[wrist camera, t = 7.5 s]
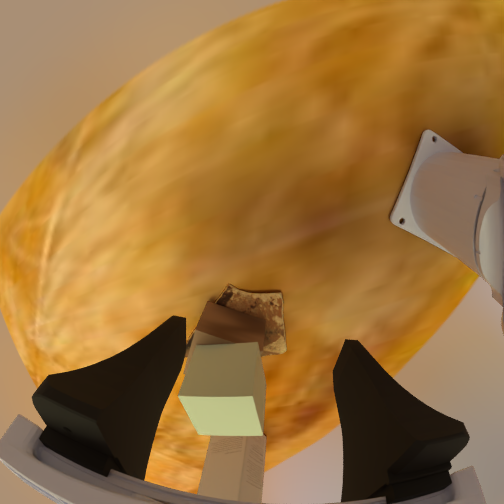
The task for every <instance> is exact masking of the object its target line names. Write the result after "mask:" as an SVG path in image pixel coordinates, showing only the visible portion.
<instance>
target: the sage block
mask: <svg viewBox="0 0 504 504" xmlns="http://www.w3.org/2000/svg"><path fill="white" fill-rule="evenodd" d="M265 396H266V381H265V376H264V371H263V366H262V361H261V356H260V350H259V345H258V342H251V343H235V344H216V345H196V347H195V350H194V353H193V355H192V358H191V361H190V364H189V366H188V369H187V372H186V375H185V377H184V380H183V383H182V386H181V389H180V391H179V394H178V397H179V399H180V401H181V403H182V405H183V407H184V409H185V410H186V412H187V414H188V416H189V418H190V420H191V422H192V423H193V425H194V427H195V429H196V430H197V432H198V434H199V435H216V436H263V429H264V413H265Z"/></svg>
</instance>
